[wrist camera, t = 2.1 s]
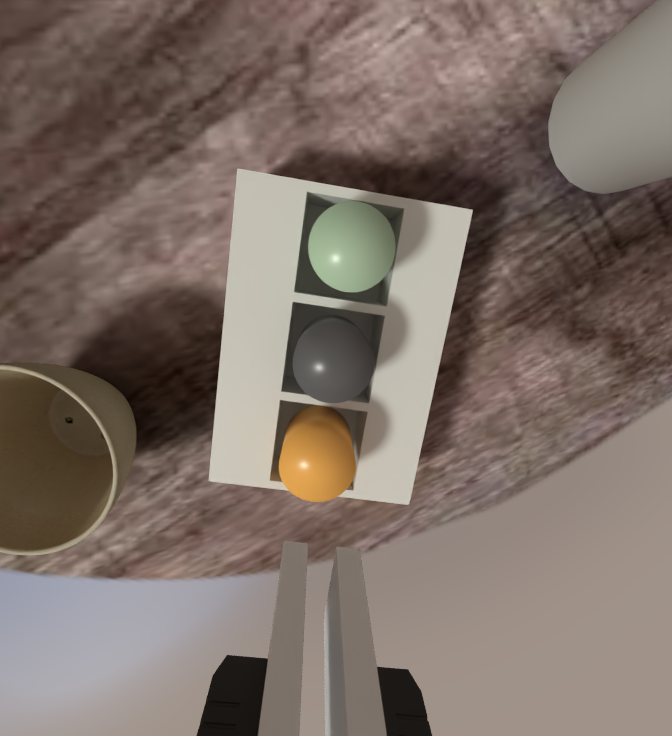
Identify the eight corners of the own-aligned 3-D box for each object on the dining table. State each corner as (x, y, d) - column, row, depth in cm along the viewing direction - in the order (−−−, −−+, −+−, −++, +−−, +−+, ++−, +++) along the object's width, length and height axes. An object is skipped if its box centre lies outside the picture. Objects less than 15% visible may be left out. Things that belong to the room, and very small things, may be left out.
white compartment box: (251, 186, 23) (237, 168, 20) (448, 220, 24) (473, 209, 20) (224, 451, 27) (208, 481, 23) (396, 472, 28) (409, 504, 24)
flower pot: (183, 363, 26) (132, 395, 19) (156, 498, 28) (101, 573, 21) (22, 322, 25) (-95, 341, 18) (7, 466, 27) (-103, 533, 20)
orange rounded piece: (289, 401, 24) (283, 425, 20) (355, 410, 24) (362, 436, 20) (281, 462, 25) (274, 496, 21) (344, 469, 25) (349, 505, 21)
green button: (315, 208, 21) (314, 194, 18) (388, 221, 22) (402, 209, 18) (305, 283, 22) (302, 285, 18) (375, 294, 23) (386, 298, 19)
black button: (301, 310, 23) (298, 317, 19) (370, 320, 23) (381, 329, 19) (293, 377, 24) (287, 397, 20) (359, 386, 24) (367, 408, 20)
